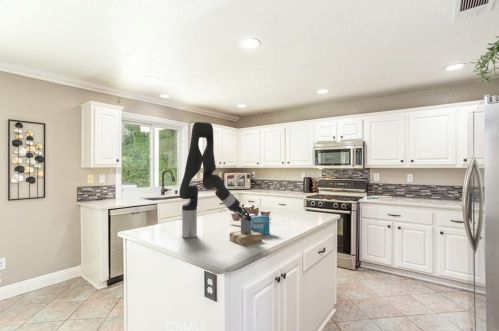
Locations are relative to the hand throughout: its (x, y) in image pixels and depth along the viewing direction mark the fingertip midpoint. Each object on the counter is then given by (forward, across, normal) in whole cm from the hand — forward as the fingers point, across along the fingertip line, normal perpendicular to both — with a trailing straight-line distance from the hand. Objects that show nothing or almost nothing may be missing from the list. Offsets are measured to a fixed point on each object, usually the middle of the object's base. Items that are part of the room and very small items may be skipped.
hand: (246, 218), depth 161 cm
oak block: (+9, 0, +10) cm, 14 cm away
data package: (+20, +8, -1) cm, 22 cm away
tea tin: (+6, 0, +7) cm, 9 cm away
